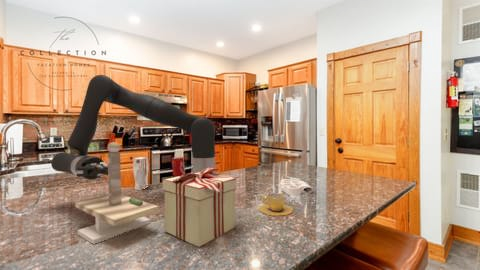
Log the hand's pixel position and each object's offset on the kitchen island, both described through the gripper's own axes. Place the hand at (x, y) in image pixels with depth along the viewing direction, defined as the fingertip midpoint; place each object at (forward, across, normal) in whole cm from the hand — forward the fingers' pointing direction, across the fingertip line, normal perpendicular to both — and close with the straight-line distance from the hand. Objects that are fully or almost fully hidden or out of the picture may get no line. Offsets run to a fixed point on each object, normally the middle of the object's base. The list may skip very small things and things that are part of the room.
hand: (112, 171), depth 68 cm
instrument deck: (+1, 0, +11) cm, 11 cm away
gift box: (+24, +14, +17) cm, 32 cm away
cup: (+32, +40, +17) cm, 55 cm away
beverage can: (-20, +41, +16) cm, 49 cm away
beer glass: (-35, +29, +16) cm, 48 cm away
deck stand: (+1, 0, +17) cm, 17 cm away
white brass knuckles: (+27, +69, +17) cm, 76 cm away
